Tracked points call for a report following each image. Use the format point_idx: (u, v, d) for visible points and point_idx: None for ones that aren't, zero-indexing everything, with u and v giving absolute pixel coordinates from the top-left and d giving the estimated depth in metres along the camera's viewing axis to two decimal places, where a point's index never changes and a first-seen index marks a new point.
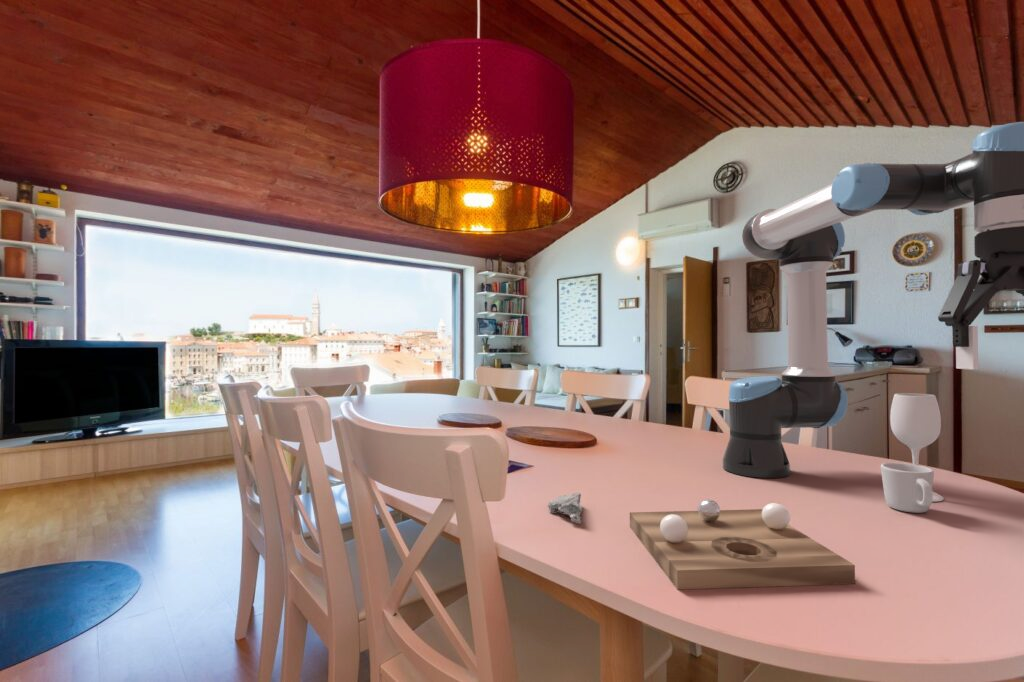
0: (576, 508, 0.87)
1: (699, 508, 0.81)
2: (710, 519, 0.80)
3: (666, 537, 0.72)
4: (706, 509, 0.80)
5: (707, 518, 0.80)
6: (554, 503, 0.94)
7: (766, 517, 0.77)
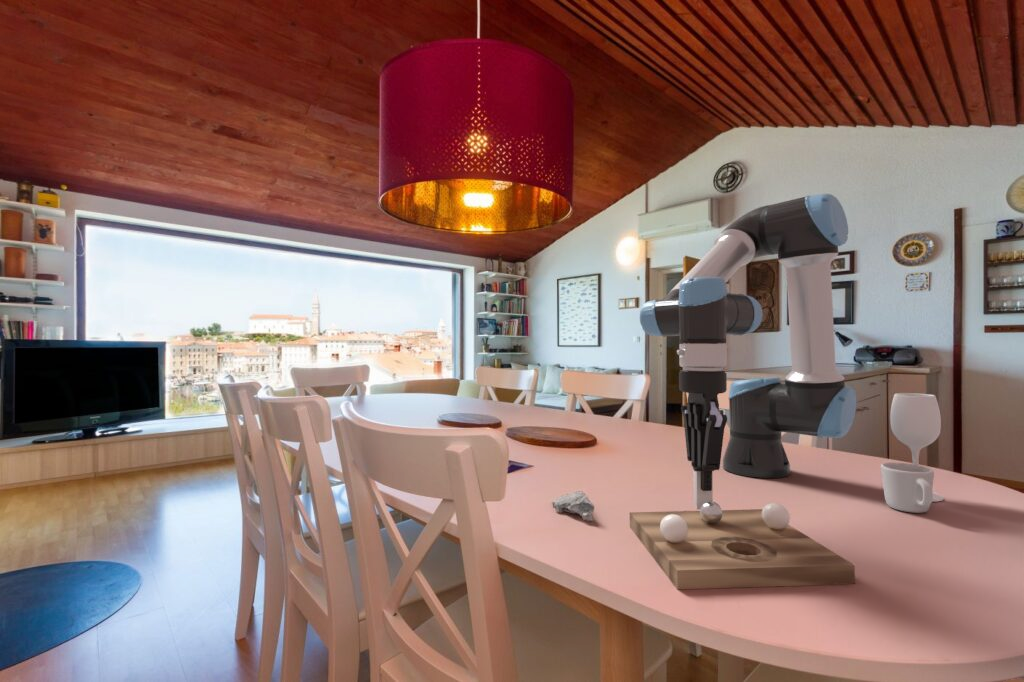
0: (589, 506, 0.88)
1: (701, 511, 0.80)
2: (711, 523, 0.80)
3: (666, 537, 0.72)
4: (708, 515, 0.79)
5: (708, 522, 0.80)
6: (561, 502, 0.94)
7: (766, 517, 0.77)
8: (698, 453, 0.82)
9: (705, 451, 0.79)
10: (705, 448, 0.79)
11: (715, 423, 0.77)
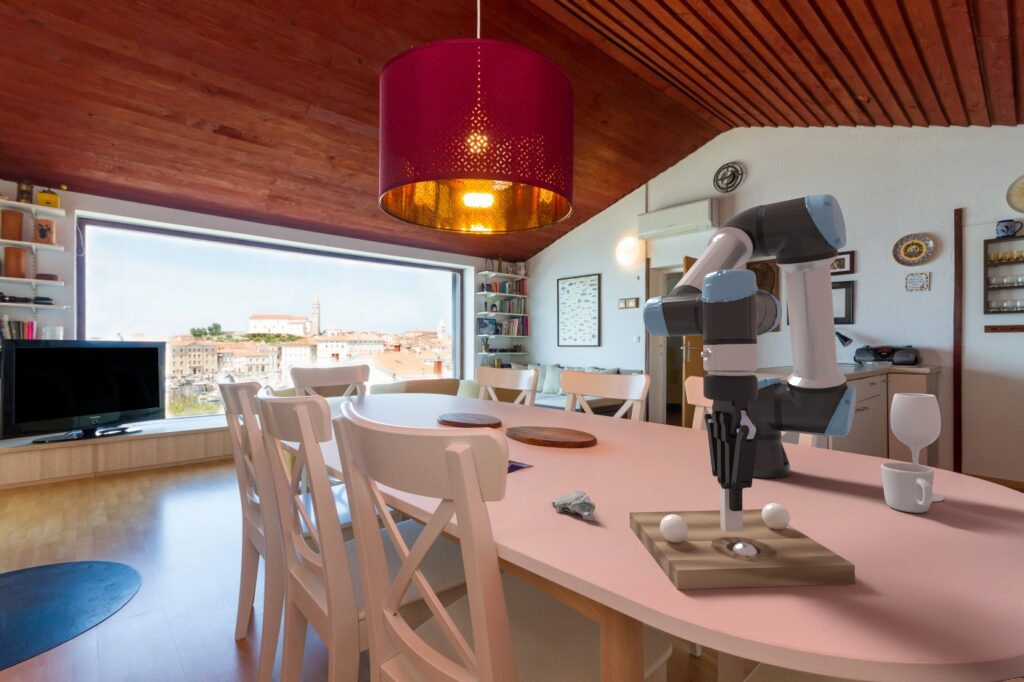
0: (590, 505, 0.89)
1: None
2: None
3: (666, 537, 0.72)
4: None
5: None
6: (561, 502, 0.94)
7: (766, 517, 0.77)
8: (726, 468, 0.73)
9: (735, 466, 0.70)
10: (735, 463, 0.70)
11: (747, 435, 0.68)
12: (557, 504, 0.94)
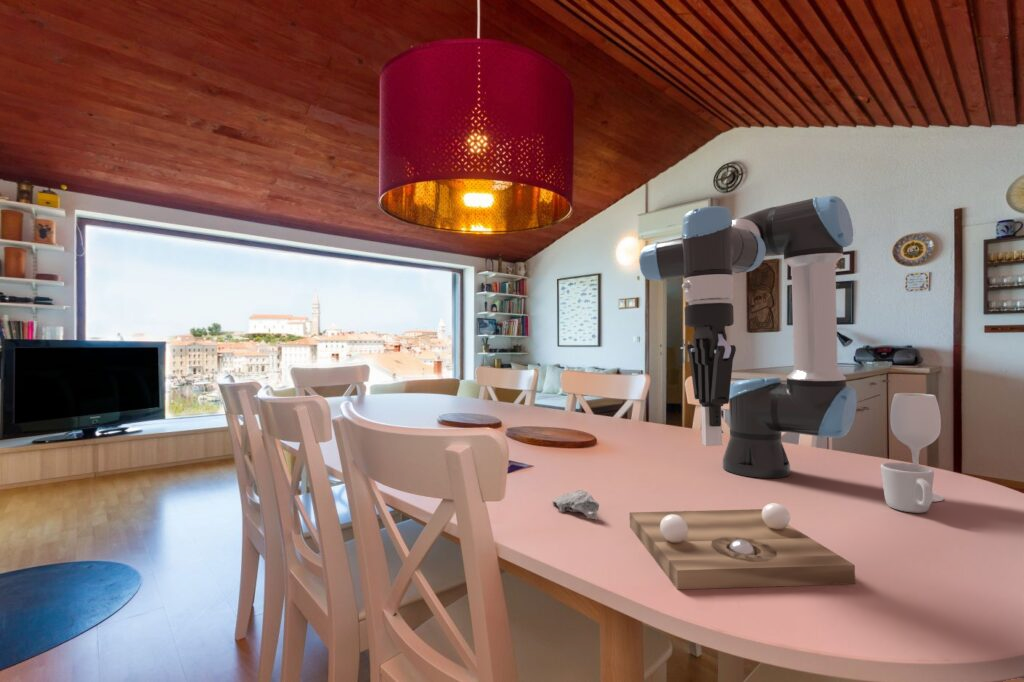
0: (594, 504, 0.89)
1: None
2: None
3: (666, 537, 0.72)
4: None
5: None
6: (563, 502, 0.94)
7: (766, 517, 0.77)
8: (706, 388, 0.80)
9: (714, 384, 0.77)
10: (714, 381, 0.77)
11: (723, 354, 0.75)
12: (559, 504, 0.94)
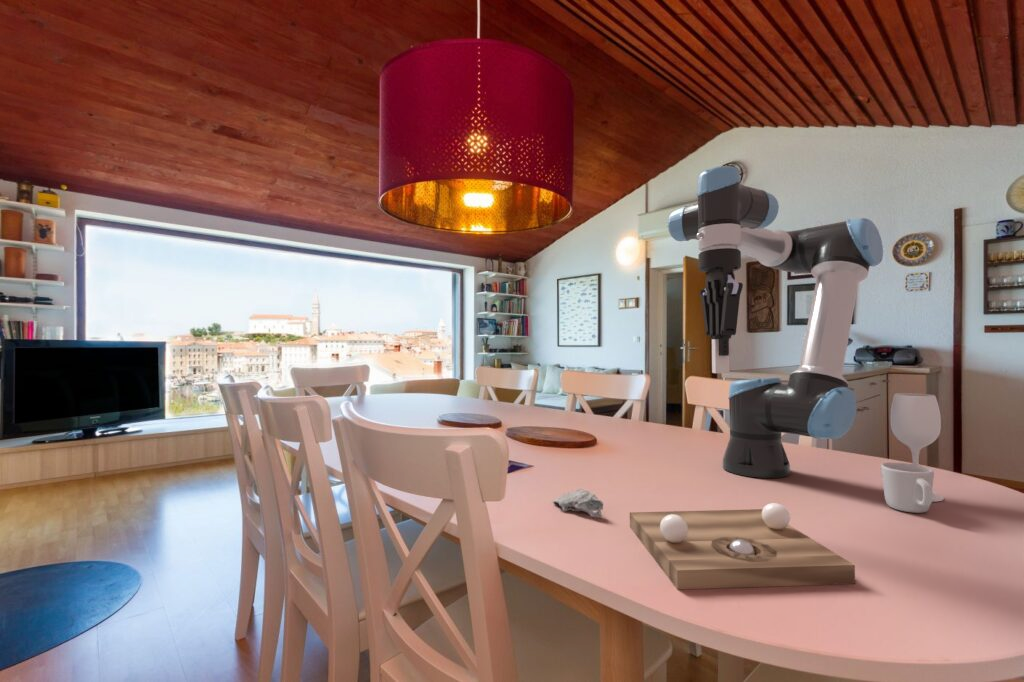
0: (599, 503, 0.90)
1: None
2: None
3: (666, 537, 0.72)
4: None
5: None
6: (566, 501, 0.95)
7: (766, 517, 0.77)
8: (716, 323, 0.93)
9: (723, 317, 0.90)
10: (723, 315, 0.90)
11: (732, 289, 0.88)
12: (562, 503, 0.94)
